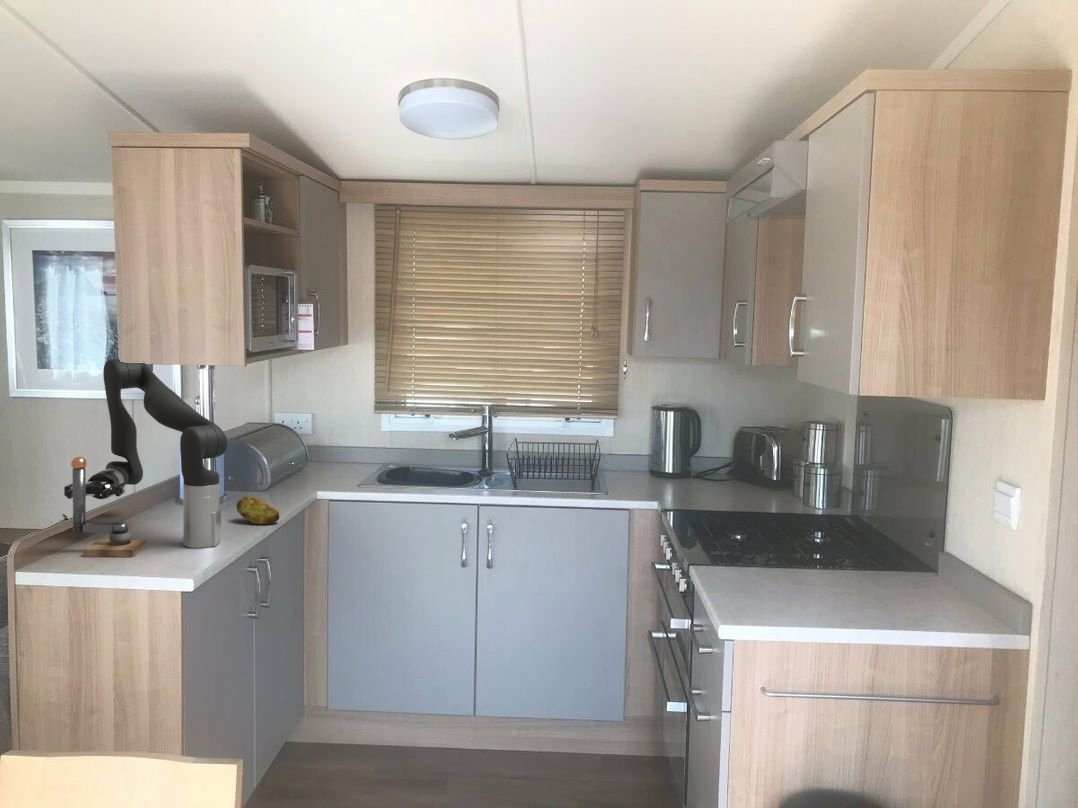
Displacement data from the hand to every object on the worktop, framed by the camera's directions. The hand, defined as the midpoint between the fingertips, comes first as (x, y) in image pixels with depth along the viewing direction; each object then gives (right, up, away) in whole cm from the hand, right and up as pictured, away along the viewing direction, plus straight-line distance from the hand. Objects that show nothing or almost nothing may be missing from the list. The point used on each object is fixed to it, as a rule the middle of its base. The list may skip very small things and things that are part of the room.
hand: (85, 495), depth 221 cm
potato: (+35, -13, +34) cm, 50 cm away
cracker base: (+10, -15, -3) cm, 18 cm away
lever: (+5, -9, -3) cm, 11 cm away
